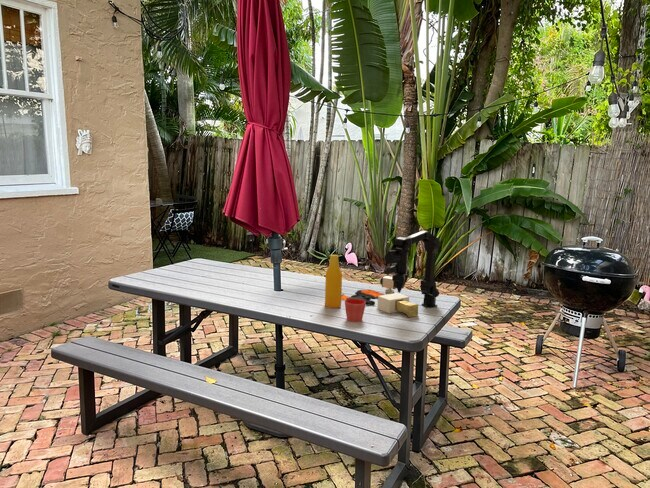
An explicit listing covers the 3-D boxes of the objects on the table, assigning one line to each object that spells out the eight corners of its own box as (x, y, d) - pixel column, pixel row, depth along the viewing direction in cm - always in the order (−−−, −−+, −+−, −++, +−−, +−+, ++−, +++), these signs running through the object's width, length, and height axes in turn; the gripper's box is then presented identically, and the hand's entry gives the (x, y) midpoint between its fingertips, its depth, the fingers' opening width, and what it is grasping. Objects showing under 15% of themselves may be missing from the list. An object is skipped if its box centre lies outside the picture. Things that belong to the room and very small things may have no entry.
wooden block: (396, 307, 261) (396, 296, 260) (417, 315, 247) (418, 304, 246) (387, 309, 258) (387, 298, 257) (408, 317, 243) (409, 305, 243)
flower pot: (363, 316, 244) (364, 298, 243) (366, 323, 233) (366, 304, 232) (343, 316, 244) (344, 298, 242) (345, 322, 233) (345, 304, 231)
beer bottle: (322, 304, 265) (323, 254, 261) (337, 303, 268) (338, 253, 264) (328, 308, 256) (329, 257, 252) (343, 307, 260) (345, 256, 255)
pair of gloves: (361, 291, 298) (362, 286, 297) (394, 298, 282) (395, 293, 282) (335, 299, 277) (335, 294, 276) (369, 308, 261) (369, 302, 261)
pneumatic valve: (395, 297, 284) (396, 277, 282) (379, 293, 291) (380, 275, 289) (400, 295, 288) (401, 276, 286) (384, 292, 295) (384, 273, 294)
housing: (396, 305, 267) (397, 292, 266) (408, 309, 258) (409, 296, 257) (377, 308, 259) (377, 295, 258) (389, 313, 251) (389, 300, 250)
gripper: (390, 257, 257) (389, 284, 260) (382, 263, 240) (381, 293, 242) (410, 258, 254) (409, 286, 256) (404, 265, 236) (403, 295, 239)
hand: (400, 290), depth 249 cm, fingers open, 9 cm apart
